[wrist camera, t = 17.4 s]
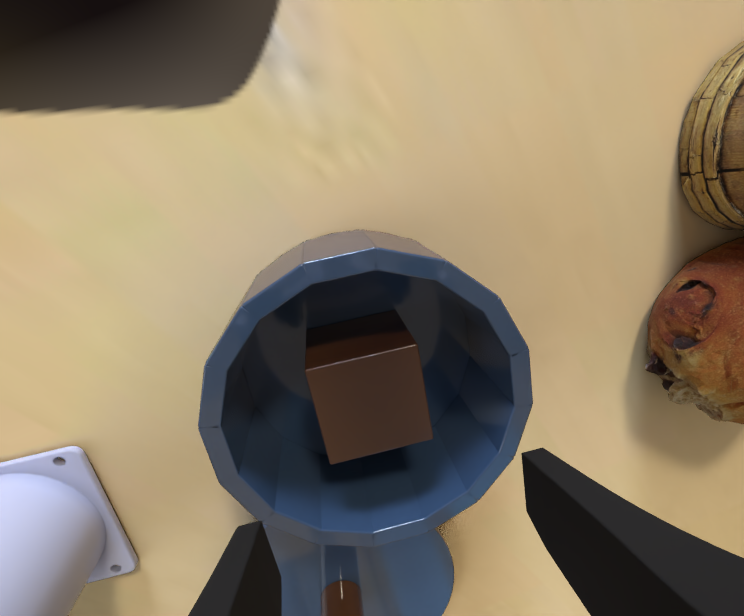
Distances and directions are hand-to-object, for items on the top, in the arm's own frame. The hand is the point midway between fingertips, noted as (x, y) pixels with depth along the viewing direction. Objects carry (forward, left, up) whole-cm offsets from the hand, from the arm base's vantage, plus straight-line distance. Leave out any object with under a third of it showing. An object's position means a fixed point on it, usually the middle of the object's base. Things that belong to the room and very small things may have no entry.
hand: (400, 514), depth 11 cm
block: (0, 0, -10) cm, 10 cm away
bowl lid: (-4, -14, -10) cm, 18 cm away
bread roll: (+20, -3, -11) cm, 23 cm away
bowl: (0, 0, -10) cm, 10 cm away
